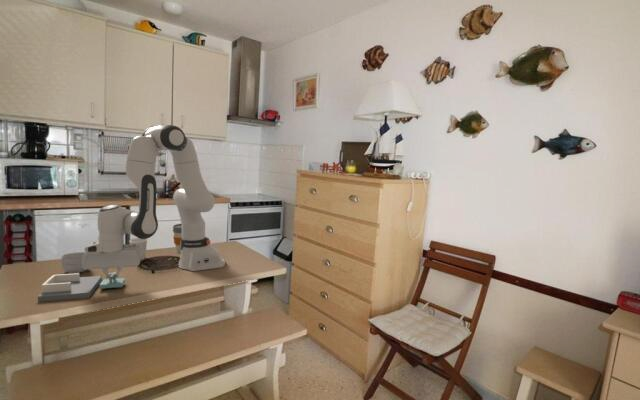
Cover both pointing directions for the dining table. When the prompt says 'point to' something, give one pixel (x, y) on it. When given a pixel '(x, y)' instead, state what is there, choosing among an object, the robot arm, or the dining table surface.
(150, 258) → the dining table surface
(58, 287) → the dock
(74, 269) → the teacup
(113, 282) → the trolley
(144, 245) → the dixie cup
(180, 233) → the reusable coffee cup
